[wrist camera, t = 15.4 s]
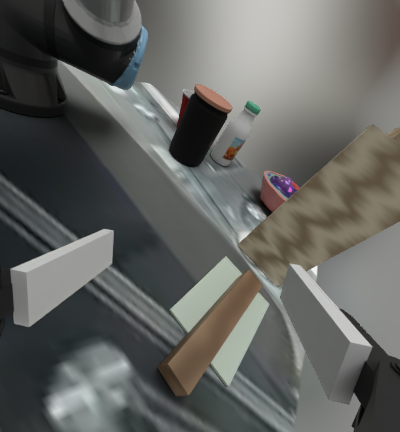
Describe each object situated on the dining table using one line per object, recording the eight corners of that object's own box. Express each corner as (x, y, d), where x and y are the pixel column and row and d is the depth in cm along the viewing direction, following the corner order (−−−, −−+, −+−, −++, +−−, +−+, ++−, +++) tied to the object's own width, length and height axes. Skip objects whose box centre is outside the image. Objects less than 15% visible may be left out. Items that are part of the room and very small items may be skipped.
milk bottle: (210, 161, 65) (246, 102, 52) (209, 150, 70) (241, 94, 57) (229, 169, 67) (268, 116, 55) (227, 158, 73) (261, 107, 60)
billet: (157, 367, 22) (167, 363, 20) (237, 277, 37) (249, 269, 35) (175, 396, 21) (188, 395, 19) (250, 292, 36) (263, 284, 34)
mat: (168, 310, 28) (170, 309, 27) (224, 257, 39) (225, 256, 39) (226, 386, 25) (228, 386, 25) (267, 305, 37) (269, 304, 36)
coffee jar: (203, 171, 58) (238, 115, 46) (170, 161, 53) (199, 94, 41) (197, 152, 64) (226, 98, 53) (167, 141, 59) (192, 78, 48)
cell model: (301, 237, 61) (333, 215, 54) (250, 212, 56) (278, 184, 49) (288, 203, 73) (313, 182, 66) (246, 180, 68) (267, 154, 61)
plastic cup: (179, 118, 76) (192, 87, 68) (201, 135, 75) (216, 105, 68) (164, 121, 67) (177, 85, 60) (188, 140, 67) (204, 106, 59)
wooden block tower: (237, 245, 44) (386, 112, 24) (252, 230, 50) (379, 117, 30) (276, 286, 41) (481, 177, 21) (287, 265, 48) (451, 167, 28)
